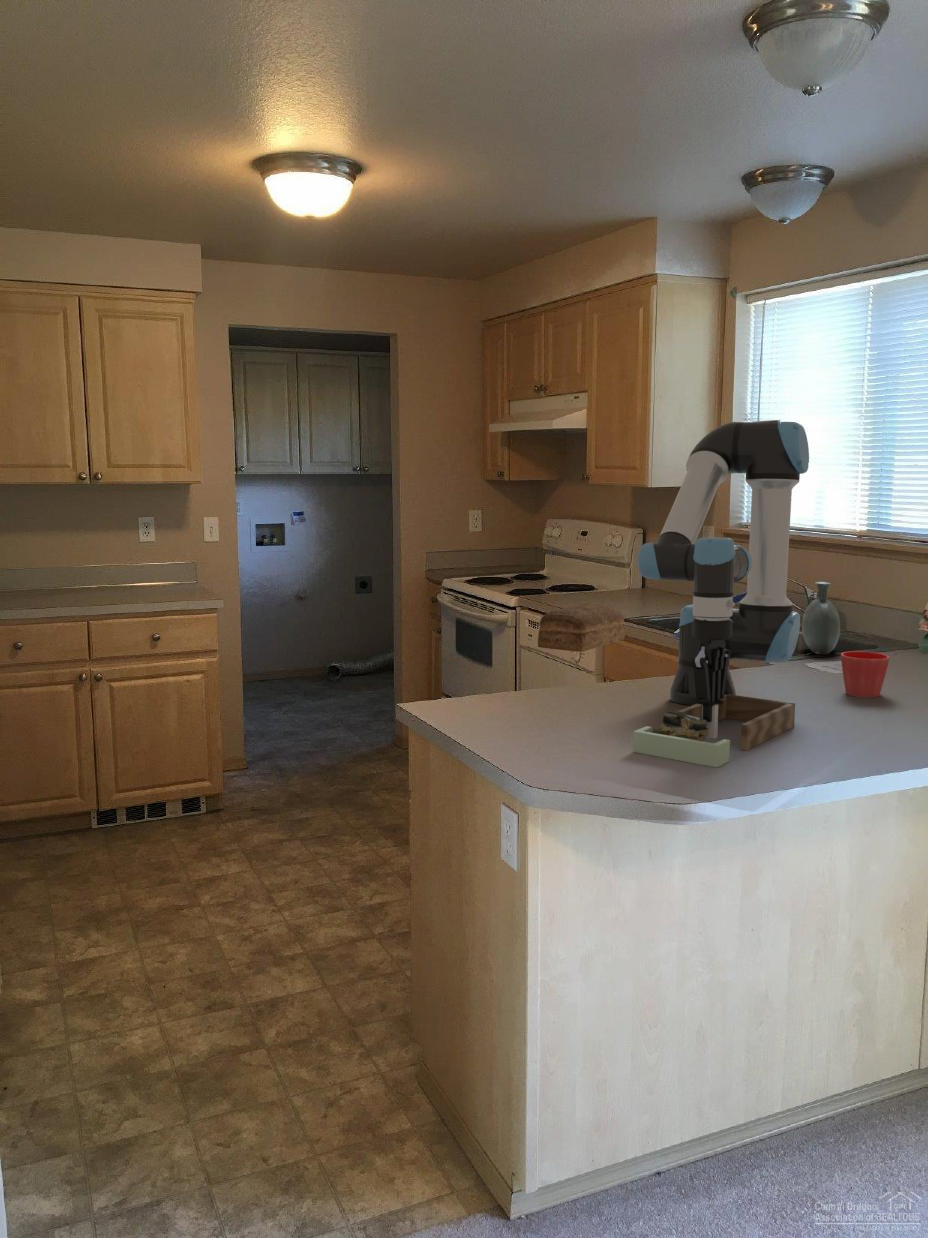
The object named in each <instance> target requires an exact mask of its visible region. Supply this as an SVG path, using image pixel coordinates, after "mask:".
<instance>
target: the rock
mask: <svg viewBox="0 0 928 1238" xmlns="http://www.w3.org/2000/svg"><path fill="white" fill-rule="evenodd" d="M706 725H707V721H706V720H705V719H702V718H699V717H696V716H691V715H688V714H686V713H684V712H680V711H679V710H668V711H665V712H664V715H663V719H662V722H661V724H660V726H659V728H652V733H656V734H662V735H668V736H674V737H680V738H685V739H691V740H697V741H703V742H705V738H707V737H706V735H708V731H709V729H708V728H707V727H706Z"/></svg>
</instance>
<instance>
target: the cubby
mask: <svg viewBox="0 0 928 1238" xmlns="http://www.w3.org/2000/svg"><path fill="white" fill-rule="evenodd" d="M720 700H722V701H724V703H723V704H718V722H720V721H721V720H724V719H732V720H739V721H746V722H742V723H741V727H740V728H741V729H740V731H741V732H740V733H741V734H740V751H741V750H742V751H746V752H747V751H749V750H751V749H753V748H754V747H757V746H758V745H761V744H762V743H764V742H767V741H769V740H770V739H773V738H775V737H776V736H779V735H781V734H782V733H784V732H787V731H789V730H791V729H793V728H794V727H795V719H796V716H795V715H796V703H795V702H787V701H780V700H772V699H767V698H766V699H764V698H758V697H751V696H742V695H737V694H736V695H730V694H724V698H723V699H720ZM678 711H680V712H684V713H686V714H688V715H691V716H696V717H699V718H702V704H695V705H693V706H692V705H689V706H688V707H685V708H682V709H680V710H678Z"/></svg>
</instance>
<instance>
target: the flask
mask: <svg viewBox="0 0 928 1238" xmlns="http://www.w3.org/2000/svg"><path fill="white" fill-rule="evenodd" d="M814 585H816V586H817V598H816V599H814V600H813V601H812V602H810V603H809V604H808V606H807V607H806V608H805V611H804V612H803V616H802V621H801V630H802V631H801V633H802V637H803V640H804V642H805V644H806V646H807V647H808V649H809V650H810V651H811V652H812V653H814V654H817V655H823V656H824V655H825V656H826V655H829V654H831V652H832V651H833V650H834V649H835V648H836V646H837V644H838V641H839V638H840V632H841V621H840V615H839V612H838V610H837V608H836V606H835V605H834V604H833V603H832V602H831V601H829V600H828V597H827V596H828V590H829V586H831V585H832V583H830V582H827V581H816V582H814Z"/></svg>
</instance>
